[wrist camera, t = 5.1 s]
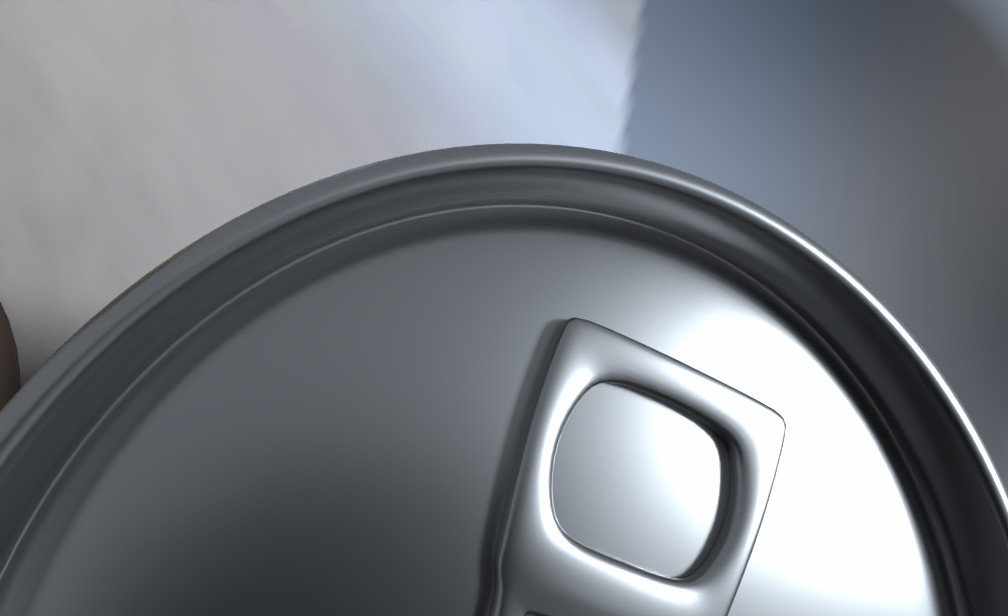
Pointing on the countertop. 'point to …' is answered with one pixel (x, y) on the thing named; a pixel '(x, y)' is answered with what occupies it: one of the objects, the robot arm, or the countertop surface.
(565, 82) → the countertop surface
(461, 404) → the can
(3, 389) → the walnut stand
